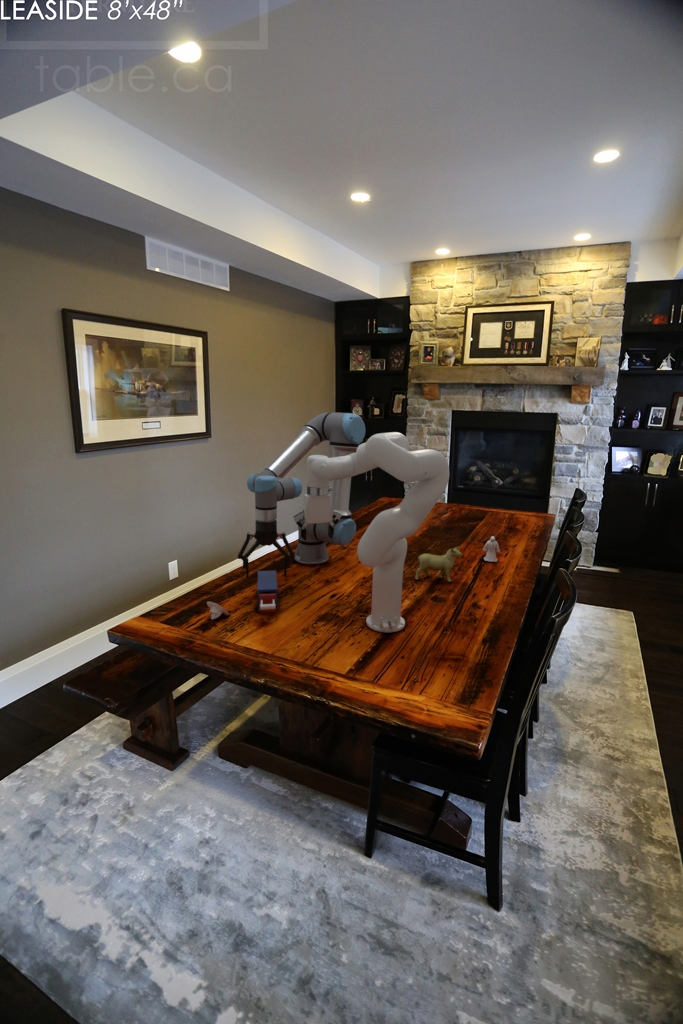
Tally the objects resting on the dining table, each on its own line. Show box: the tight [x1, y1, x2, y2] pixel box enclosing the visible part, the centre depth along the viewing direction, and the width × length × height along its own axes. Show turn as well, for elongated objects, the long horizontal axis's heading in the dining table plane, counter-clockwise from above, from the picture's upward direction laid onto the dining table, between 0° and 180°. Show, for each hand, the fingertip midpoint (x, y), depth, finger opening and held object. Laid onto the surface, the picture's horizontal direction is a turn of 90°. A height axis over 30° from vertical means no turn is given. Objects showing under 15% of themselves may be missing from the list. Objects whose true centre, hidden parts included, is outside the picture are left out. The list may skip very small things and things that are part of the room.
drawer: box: [259, 592, 277, 613], centre depth 172 cm, size 22×6×6 cm, turn 9°
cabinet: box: [256, 570, 279, 613], centre depth 178 cm, size 18×7×8 cm, turn 9°
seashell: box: [206, 600, 230, 620], centre depth 164 cm, size 8×5×8 cm
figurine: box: [482, 535, 501, 563], centre depth 223 cm, size 8×8×12 cm
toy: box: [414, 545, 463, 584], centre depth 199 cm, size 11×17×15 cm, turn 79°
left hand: (266, 576), depth 182 cm, fingers open, 13 cm apart
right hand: (317, 538), depth 177 cm, fingers open, 9 cm apart
